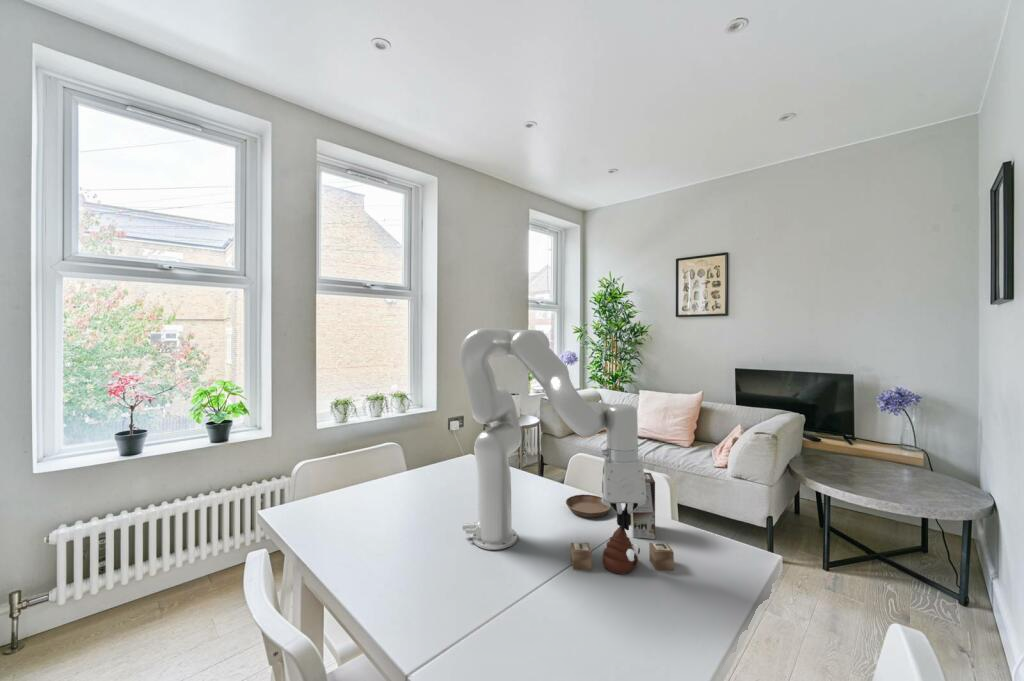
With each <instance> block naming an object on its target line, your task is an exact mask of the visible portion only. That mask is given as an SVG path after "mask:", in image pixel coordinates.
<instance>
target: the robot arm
mask: <svg viewBox="0 0 1024 681" xmlns="http://www.w3.org/2000/svg"><path fill="white" fill-rule="evenodd" d="M549 340H550V339H549V337H548V336H547V335H546V333H544V332H543V331H541V330H539V329H538V330H537V329H510V328H496V327H494V328H493V327H482V328H477V329H475V330H473V331H471V332H470V333H469V334H468V335H467V336H466V337H465V338H464V339H463V341H462V343H461V346H460V348H459V349H460V350H459V362H460V366H461V369H462V373H463V378H464V381H465V388H466V393H467V397H468V398H467V399H468V401H469V407H470V412H471V415H472V417H473V420H475V422H477V423H478V424H482V425H487V424H489V426H490V427H489V428H486V429H485V430H483V431H482V432H480V433H479V435H478V436H477V437H476V439H475V441H474V446H473V451H474V457H475V463H476V471H477V472H476V474H477V522H476V521H475V522H474V523H462V531H463V532H465V534H466V535H472V542H473V543H474V544H475V546H477V547H479V548H481V549H484V550H494V551H497V550H503V549H507V548H510V547H511V546H513V545H515V543H516V542H517V541H518V533H517V531H516V530H515V529H513V528H512V527H513V526H512V525H513V524H512V522H513V521H512V518H513V517H512V516H513V515H512V474H511V468H510V464H509V456H510V455H512V454H513V453H514V452H516V451H517V450H518V449H519V448H520V446H521V444H522V430H521V426H520V421H519V416H518V412H517V407H516V403H515V400H514V398H513V396H512V394H511V393H510V392H509V391H508V390H507V389H506V388H504V387H501V386H500V387H499V386H497V383H496V379H495V378H496V377H495V374H494V371H493V369H492V366H491V365H490V363H489V359H491V358H500V357H506V358H507V357H508V358H516V359H517V360H518V361H519V362H520V363H521V364H522V366H523V367H524V368H525V369H526V370H527V371H528V372H529V374H531V375H532V376H533V378H534V379H535V380H536V382H538V384H539V385H540V386H541V387H542V389H543V391H544V393H545V395H546V397H547V399H548V401H549V402H550V405H551V406H552V408H553V409H554V411H555V412H556V414H558V416H559V417H560V418H561V419H562V421H563V422H564V423H565V424H566V425H567V427H569V429H570V430H572V431H573V432H574V434H577V435H578V436H580V437H581V438H582V437H583V438H592V437H594V436H596V435H597V434H599V433H600V432H601V431H602V430H605V431H606V448H605V449H601V451H600V453H601V456H604V457H605V459H604V461H603V467H602V478H601V479H602V480H601V493H602V496H601V497H602V500H601V502H602V504H603V505H607V506H611V508H613V509H614V510H615V512H616V525H617V526H618V527H620V528H621V530H625V531H629V530H630V526H631V514H632V512H633V510H634V509H635V508H636V507H637V506H640V505H644V504H646V501H645V500H646V486H645V477H644V472H645V471H644V465H643V461H642V459H640V458H639V433H638V432H639V431H638V426H639V425H638V422H639V421H638V409H637V408H636V407H635V406H634V405H632V404H625V403H617V404H612V403H611V404H610V403H604V402H599V401H590V402H587V401H586V400H585V399H584V398H583V396H581V395H580V394H579V392H578V391H577V389H576V388H575V387H574V385H573V383H572V381H571V379H570V373H569V371H570V370H569V369H568V367H567V365H566V363H564V362H563V361H562V360H561V358H560V357H559V356H558V355H557V354H556V353H555V352H554V351H553V350H552V349H551V347H550V341H549ZM622 504H625V505H624V508H623V507H622Z"/></svg>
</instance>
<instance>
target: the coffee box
mask: <svg viewBox="0 0 1024 681" xmlns="http://www.w3.org/2000/svg"><path fill="white" fill-rule="evenodd" d="M644 477H645V486H646V500H645V501H646V504H644V505H640V506H637V507H636V508H635V509H634V510H633V512H632V514H631V525H630V529H631V534H632V537H633V538H637V539H650V540H655V539H656V482H655V479H654V476H653V475H652V472H647V471H646V472H645V471H644Z"/></svg>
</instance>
